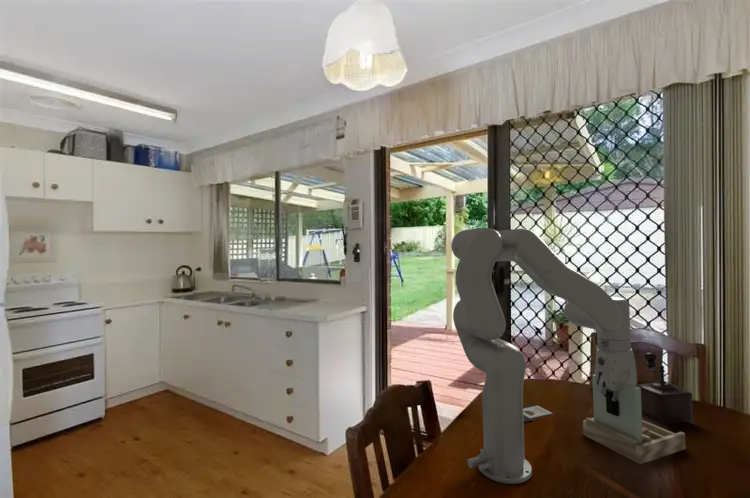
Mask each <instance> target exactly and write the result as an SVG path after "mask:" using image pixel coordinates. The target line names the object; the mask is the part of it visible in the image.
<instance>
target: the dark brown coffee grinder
mask: <svg viewBox="0 0 750 498" xmlns="http://www.w3.org/2000/svg"><path fill="white" fill-rule="evenodd" d="M642 358H643V359H644V360H645V362H646V363H647V364H646V368H645V371H647V372H650V373H656V374H659V376H660V377H659V380H657V381H652V382H646V383H639V384H637V385H636V387H639V388H641V409H642V415H646V416H647V417H649V418H651V419H652V420H655V421H657V422H659V423H660V424H662V425H671V424H677V423H678V424H679V423H688V424H691V425H694V423H695V422H694V413H693V412H694V406H693V393H692V392H689V391H687V390H685V389H683V388H681V387H680V386H679V385H675V384H674V381H673V380H670V381H669V382H668V381H666V380H665V373H666V370H665V366H664V365H663V364H662V365H661V364H660V365H659V366H658V365H657V363H656V362H657V360H658V355H657V354H656V353H653V352H645V353H644V354H643V356H642ZM656 367H658V368H659V369H658V370H657V369H654V368H656Z"/></svg>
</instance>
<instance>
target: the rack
mask: <svg viewBox="0 0 750 498" xmlns="http://www.w3.org/2000/svg"><path fill="white" fill-rule="evenodd" d="M642 427H645V428H647V429H649V436H647V435H645V434H642V435H643V444H640V445H639V441H638V440H636V439H634V438H631V437H629V436H627V435H625V434H623V433H621V432H618V431H616V430H614V429H612V428H610V427H608V426H605V425H603V424H601V423H599V422H597V421H595V420H594V417H585V419H583V420H582V431H583V433H582V434H583V436H585V437H587V438H589V439H591V440H593V441H595V442H597V443H598V444H600V445H602V446H604V447H606V448H609V449H610V450H613V452H616V453H618V454H620V455H622V456H623V457H626V458H627V459H629V460H631V461H633V462H635V463H637V464H639V465H643V464H646V463H648V462H652V461H654V460H657V459H661V458H664V457H665V456H666V457H667V456H669V455H672V454H676V453H678V452H680V451H683V450H686V433H685V432H683V431H678V432H676V433H675V432H674V431H673V432H672V431H670V430H668V429H666V428H663V427H660V426H658V425H656V424H653V423H651V422H649V421H646V420H643V419H642ZM651 438H652V439H655V440H653V441H651Z"/></svg>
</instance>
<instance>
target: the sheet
mask: <svg viewBox="0 0 750 498" xmlns="http://www.w3.org/2000/svg"><path fill="white" fill-rule="evenodd" d="M591 379H592V399H593V401H592V402H593V418H594V420H595V421H597V422H599V423H601V424H603V425H605V426H608V427H610V428H612V429H614V430H616V431H618V432H621V433H623V434H625V435H627V436H629V437H631V438H634V439H636V440H638V441H639V445H640V444H643V435H642V420H643V416H642V415H643V413H642V409H641V388H639V387H636V386H633V385H630V384H626V385H623V389H622V390H619V391H617V401H619V416H615V415H612V414H610V413H608V412H607V411H606V398H605V397H604V395H603V394H601V393H598V392H597V388H598V385H597V383H596V375H595V373H593V374H592V378H591ZM609 391H610V390H609ZM610 392H611V393H612V391H610Z"/></svg>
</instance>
